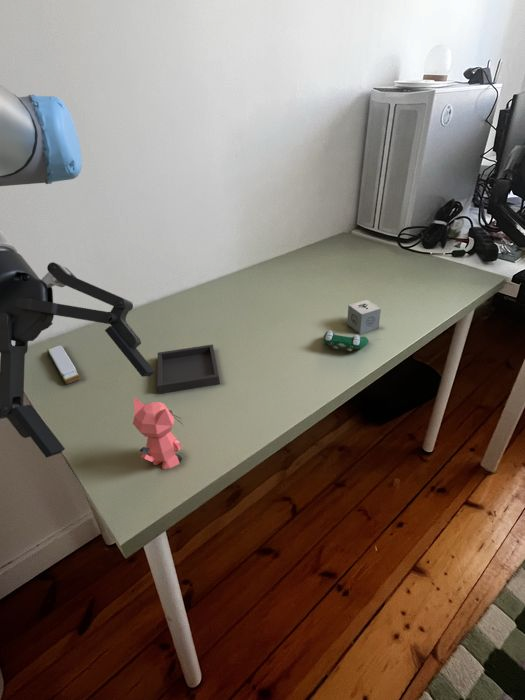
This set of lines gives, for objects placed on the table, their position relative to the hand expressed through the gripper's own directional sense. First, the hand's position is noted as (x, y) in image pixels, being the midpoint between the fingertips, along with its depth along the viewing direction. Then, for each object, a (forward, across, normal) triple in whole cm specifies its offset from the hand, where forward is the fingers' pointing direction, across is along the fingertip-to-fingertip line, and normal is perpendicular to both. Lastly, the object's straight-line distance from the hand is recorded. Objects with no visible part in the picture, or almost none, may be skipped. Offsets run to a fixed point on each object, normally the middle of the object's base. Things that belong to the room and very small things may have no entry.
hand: (102, 414), depth 48 cm
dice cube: (+12, -37, -53) cm, 66 cm away
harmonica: (-22, +18, -41) cm, 50 cm away
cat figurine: (+8, +6, -21) cm, 23 cm away
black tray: (-4, -3, -40) cm, 40 cm away
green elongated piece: (+13, -30, -46) cm, 57 cm away
